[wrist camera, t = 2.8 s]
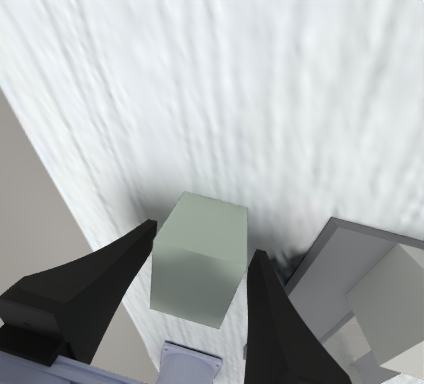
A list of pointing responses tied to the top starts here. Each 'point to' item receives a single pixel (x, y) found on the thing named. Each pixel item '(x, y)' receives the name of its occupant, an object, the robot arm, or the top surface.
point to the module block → (199, 259)
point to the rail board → (341, 291)
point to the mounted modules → (392, 312)
